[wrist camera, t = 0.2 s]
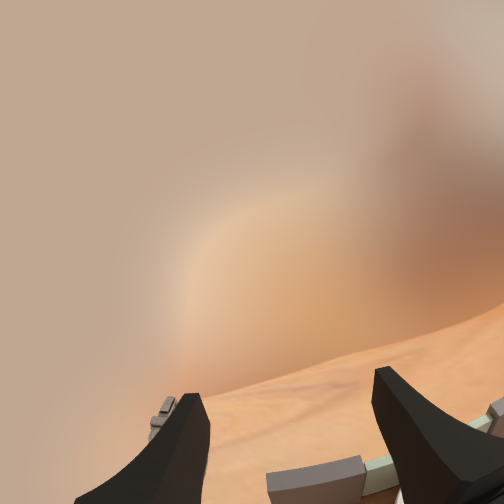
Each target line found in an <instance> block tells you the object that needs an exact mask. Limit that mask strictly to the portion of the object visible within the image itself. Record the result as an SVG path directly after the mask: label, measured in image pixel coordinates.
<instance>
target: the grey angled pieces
mask: <svg viewBox="0 0 504 504" xmlns="http://www.w3.org/2000/svg"><path fill="white" fill-rule="evenodd" d="M488 413H489V414H490V416H491V417H492V418H493V421H492V423H491V425H490V427H489V429H488V431H487V433H488V434H491V435H494V436H497V437H501V438H504V397H502V398H501V399H499V400H497V401H495V402H493V403H491V404H490V406H489V408H488V411H487V413H486V414H488ZM365 475H366V471H365V468H364V465H363V462H362V459H361V456H360V455H358V456H354V457H350V458H346V459H342V460H338V461H334V462H329V463H325V464H320V465H315V466H310V467H304V468H299V469H293V470H286V471H280V472H272V473H266V479H267V492H268V495H269V498H270V501H271V503H272V504H356V503H359V502H360V500H361V495H362V490H363V485H364V480H365Z"/></svg>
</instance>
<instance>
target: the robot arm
mask: <svg viewBox="0 0 504 504" xmlns="http://www.w3.org/2000/svg"><path fill="white" fill-rule="evenodd" d="M371 403H372V406H373V410H374V414H375V418H376V421H377V424H378V426H379V429H380V431H381V434H382V436H383V439H384V441H385V443H386V446H387V448H388V451H389V453H390V455H391V458H392V460H393V463H394V466H395V469H396V472H397V476H398V480H399V484H400V488H401V493H402V498H403V502H404V504H504V438H501V437H497V436H494V435H491V434H488V433H485V432H483V431H480V430H478V429H475V428H473V427H471V426H469V425H467V424H464V423H462V422H460V421H459V420H457V419H455V418H453V417H452V416H450V415H448V414H447V413H445V412H444V411H442V410H441V409H439V408H438V407H436V406H435V405H434V404H432V403H431V402H430V401H428V400H427V399H426V398H425V397H423V396H422V395H421V394H420V393H419V392H417V391H416V390H415V389H414V388H413V387H412V386H410V385H409V384H408V383H407V382H406V381H405V380H404V379H403V378H402V377H401V376H399V375H398V374H397V373H396V372H395V371H394V370H393V369H392V368H391V367H390V366H386V367H382V368H378V369H375V375H374V385H373V393H372V401H371ZM209 445H210V421H209V419H208V416H207V414H206V411H205V408H204V406H203V403H202V400H201V398H200V395H199V393H187V394H184V395H183V396H182V398H181V399H180V401H179V402H178V404H177V405H176V407H175V409H174V410H173V412H172V413H171V414H170V416H169V417H168V419H167V420H166V422H165V423H164V424H163V426H162V427H161V429H160V430H159V431H158V432H157V434H156V435H155V436H154V437H153V439H152V440H151V441H150V442H149V444H148V445H147V446H146V447H145V448H144V449H143V450H142V451H141V452H140V453H139V455H138V456H136V457H135V459H133V460H132V461H131V462H130V463H129V464H128V465H127V466H126V467H125V468H123V469H122V470H121V471H120V472H119V473H117V474H116V475H115V476H113V477H112V478H110V479H109V480H108V481H106V482H105V483H103V484H102V485H100V486H98V487H97V488H95V489H93V490H92V491H90V492H88V493H86V494H84V495H82V496H80V497H78V498H76V500H75V502H74V504H201V494H202V486H203V480H204V474H205V469H206V463H207V457H208V452H209Z"/></svg>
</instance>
